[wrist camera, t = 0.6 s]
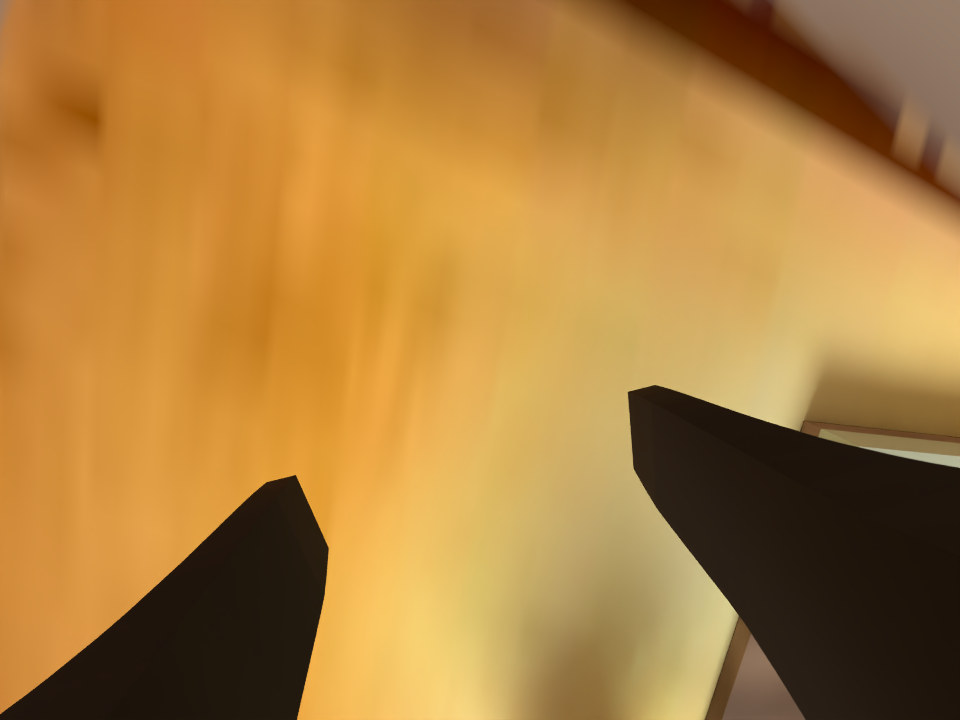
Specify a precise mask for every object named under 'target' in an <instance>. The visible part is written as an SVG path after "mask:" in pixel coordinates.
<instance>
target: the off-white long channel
mask: <svg viewBox="0 0 960 720" xmlns="http://www.w3.org/2000/svg"><path fill="white" fill-rule="evenodd" d="M818 437H820V438H824V439H828V440H832V441H835V442H839V443H843V444H847V445H852V446H856V447H860V448H865V449H869V450H873V451H878V452H882V453H887V454H891V455H895V456H900V457H905V458H910V459H915V460H920V461H925V462H930V463H935V464H941V465H947V466H953V467H959V468H960V443H952V442H942V441H933V440H923V439H914V438H904V437H895V436H885V435H876V434H866V433H857V432H847V431H838V430H828V429H821V431H820V433H819V436H818Z"/></svg>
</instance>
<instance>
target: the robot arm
mask: <svg viewBox="0 0 960 720" xmlns="http://www.w3.org/2000/svg"><path fill="white" fill-rule="evenodd" d="M628 399H629V412H630V426H631V439H632V453H633V466H634V470H635V472H636V474H637V475H638V477H639V479H640V481H641V482H642V484H643V486H644V488H645V490H646V491H647V493H648V495H649V496H650V498H651V499H652V501H653V503H654V504H655V506H656V508H657V509H658V510H659V512H660V513H661V514H662V516H663V517H664V518H665V520H666V521H667V522H668V524H669V525H670V526H671V528H672V529H673V530H674V532H675V533H676V534H677V535H678V537H679V538H680V539H681V541H682V542H683V543H684V544H685V546H686V547H687V548H688V550H689V551H690V552H691V553H692V555H693V556H694V557H695V559H696V560H697V561H698V562H699V564H700V565H701V566H702V568H703V569H704V570H705V571H706V573H707V574H708V575H709V577H710V578H711V579H712V580H713V582H714V583H715V584H716V586H717V587H718V588H719V589H720V591H721V592H722V593H723V595H724V596H725V597H726V598H727V600H728V601H729V602H730V604H731V605H732V607H733V608H734V609H735V611H736V612H737V614H738V615H739V616H740V618H741V619H742V621H743V622H744V623H745V625H746V626H747V628H748V629H749V631H750V632H751V634H752V636H753V637H754V639H755V640H756V642H757V643H758V645H759V646H760V648H761V650H762V651H763V653H764V654H765V656H766V657H767V659H768V660H769V662H770V664H771V665H772V667H773V668H774V670H775V671H776V673H777V674H778V676H779V678H780V679H781V681H782V682H783V684H784V686H785V687H786V689H787V690H788V692H789V694H790V695H791V697H792V699H793V700H794V702H795V703H796V705H797V707H798V708H799V710H800V712H801V713H802V715H803V716H804V718H805V720H960V468H959V467H953V466H947V465H941V464H935V463H930V462H925V461H920V460H915V459H910V458H905V457H900V456H895V455H891V454H887V453H882V452H878V451H873V450H869V449H865V448H860V447H856V446H852V445H847V444H843V443H839V442H835V441H832V440H828V439H824V438H820V437H817V436H813V435H810V434H806V433H803V432H799V431H796V430H792V429H789V428H785V427H782V426H779V425H776V424H772V423H769V422H766V421H763V420H760V419H757V418H753V417H750V416H747V415H744V414H741V413H738V412H735V411H732V410H730V409H727V408H724V407H721V406H718V405H715V404H712V403H709V402H706V401H704V400H701V399H698V398H695V397H692V396H689V395H686V394H683V393H680V392H677V391H674V390H671V389H668V388H664V387H660V386H656V385H654V386H650V387H646V388H642V389H638V390H634V391H630V392H628ZM328 550H329V548H328V546H327V543H326V541H325V539H324V537H323V534H322V532H321V530H320V528H319V526H318V523H317V521H316V519H315V517H314V515H313V512H312V510H311V508H310V506H309V503H308V501H307V499H306V497H305V495H304V492H303V490H302V488H301V486H300V484H299V481H298V479H297V477H296V475H294V476H290V477H286V478H282V479H278V480H274V481H270V482H266V483H265V484H264V485H263V486H262V487H260V488H259V489H258V490H257V491H256V492H254V493H253V494H252V495H251V496H250V497H249V498H248V499H247V500H246V501H245V502H244V503H243V504H241V505H240V506H239V507H238V508H237V509H236V510H235V511H234V512H233V513H232V514H231V515H230V516H229V517H228V518H227V519H226V520H225V521H224V522H223V523H222V524H221V525H220V526H219V527H218V528H217V529H216V530H215V531H214V532H213V533H212V534H211V535H210V536H208V537H207V538H206V539H205V540H204V541H203V542H202V543H201V544H200V545H199V546H198V547H197V548H196V549H195V550H194V551H193V552H192V553H191V554H190V555H189V556H188V557H187V558H186V559H185V560H184V561H183V562H182V563H181V564H179V565H178V566H177V567H176V568H175V569H174V570H173V571H172V572H171V573H170V574H169V575H167V576H166V577H165V578H164V579H163V580H162V581H161V582H160V583H159V584H158V585H157V586H155V587H154V588H153V589H152V590H151V591H150V592H149V593H148V594H147V595H146V596H144V597H143V598H142V599H141V600H140V601H139V602H138V603H137V604H136V605H135V606H134V607H132V608H131V609H130V610H129V611H128V612H127V613H126V614H125V615H124V616H122V617H121V618H120V619H119V620H118V621H117V622H116V623H114V624H113V625H112V626H111V627H110V628H109V629H107V630H106V631H105V632H104V633H103V634H101V635H100V636H99V637H98V638H97V639H96V640H94V641H93V642H92V643H91V644H90V645H88V646H87V647H86V648H85V649H83V650H82V651H81V652H80V653H78V654H77V655H76V656H75V657H74V658H72V659H71V660H70V661H69V662H67V663H66V664H65V665H64V666H62V667H61V668H60V669H59V670H57V671H56V672H55V673H54V674H53V675H51V676H50V677H49V678H48V679H46V680H45V681H44V682H42V683H41V684H40V685H39V686H37V687H36V688H35V689H33V690H32V691H31V692H30V693H28V694H27V695H25V696H24V697H23V698H21V699H20V700H19V701H17V702H16V703H15V704H13V705H12V706H11V707H9V708H8V709H7V710H5V711H4V712H3V713H1V714H0V720H297V716H298V712H299V708H300V703H301V699H302V694H303V690H304V686H305V681H306V677H307V672H308V668H309V664H310V659H311V655H312V650H313V646H314V642H315V637H316V633H317V628H318V624H319V619H320V614H321V610H322V605H323V600H324V595H325V585H326V576H327V563H328Z"/></svg>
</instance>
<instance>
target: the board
mask: <svg viewBox="0 0 960 720" xmlns="http://www.w3.org/2000/svg"><path fill="white" fill-rule="evenodd" d="M821 429H828V430H838V431H847V432H857V433H866V434H876V435H885V436H895V437H904V438H914V439H923V440H933V441H942V442H952V443H960V438H958V437H948V436H939V435H930V434H920V433H911V432H902V431H892V430H883V429H874V428H864V427H855V426H846V425H836V424H827V423H818V422H808V421H804V424H803V427H802V430H801V432H803V433H806V434H810V435H813V436H817V437H818V436H819V433H820V431H821ZM706 720H805V718H804V716H803V715H802V713H801V712H800V710H799V708H798V707H797V705H796V703H795V702H794V700H793V699H792V697H791V695H790V694H789V692H788V690H787V689H786V687H785V686H784V684H783V682H782V681H781V679H780V678H779V676H778V674H777V673H776V671H775V670H774V668H773V667H772V665H771V664H770V662H769V660H768V659H767V657H766V656H765V654H764V653H763V651H762V650H761V648H760V646H759V645H758V643H757V642H756V640H755V639H754V637H753V636H752V634H751V632H750V631H749V629H748V628H747V626H746V625H745V623H744V622H743V621H742V619H741V618H740V617H739V620H738V623H737V626H736V629H735V632H734V635H733V638H732V641H731V644H730V647H729V650H728V653H727V657H726V660H725V663H724V666H723V669H722V672H721V675H720V678H719V681H718V684H717V687H716V690H715V693H714V696H713V699H712V702H711V705H710V708H709V711H708V714H707V717H706Z"/></svg>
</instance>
